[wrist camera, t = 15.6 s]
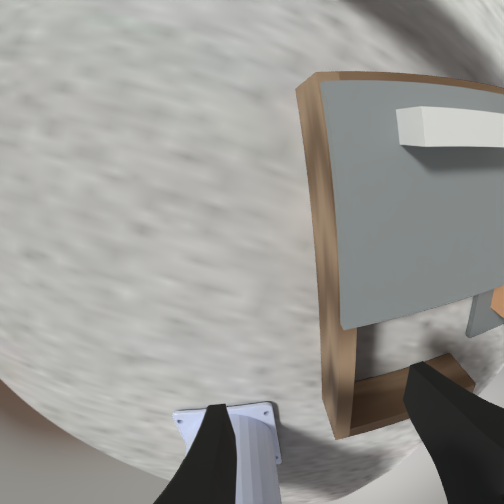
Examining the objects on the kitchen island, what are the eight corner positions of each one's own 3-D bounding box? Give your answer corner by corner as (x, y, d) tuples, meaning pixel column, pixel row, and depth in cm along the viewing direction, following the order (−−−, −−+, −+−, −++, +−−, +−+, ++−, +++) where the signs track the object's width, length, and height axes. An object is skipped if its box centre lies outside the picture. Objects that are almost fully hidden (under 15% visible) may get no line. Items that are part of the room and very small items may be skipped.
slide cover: (508, 277, 15) (533, 295, 12) (340, 323, 15) (357, 355, 12) (512, 98, 11) (544, 98, 9) (319, 83, 11) (339, 70, 9)
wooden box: (447, 361, 23) (472, 392, 19) (322, 398, 23) (335, 440, 19) (463, 92, 16) (507, 88, 11) (295, 89, 15) (315, 72, 11)
